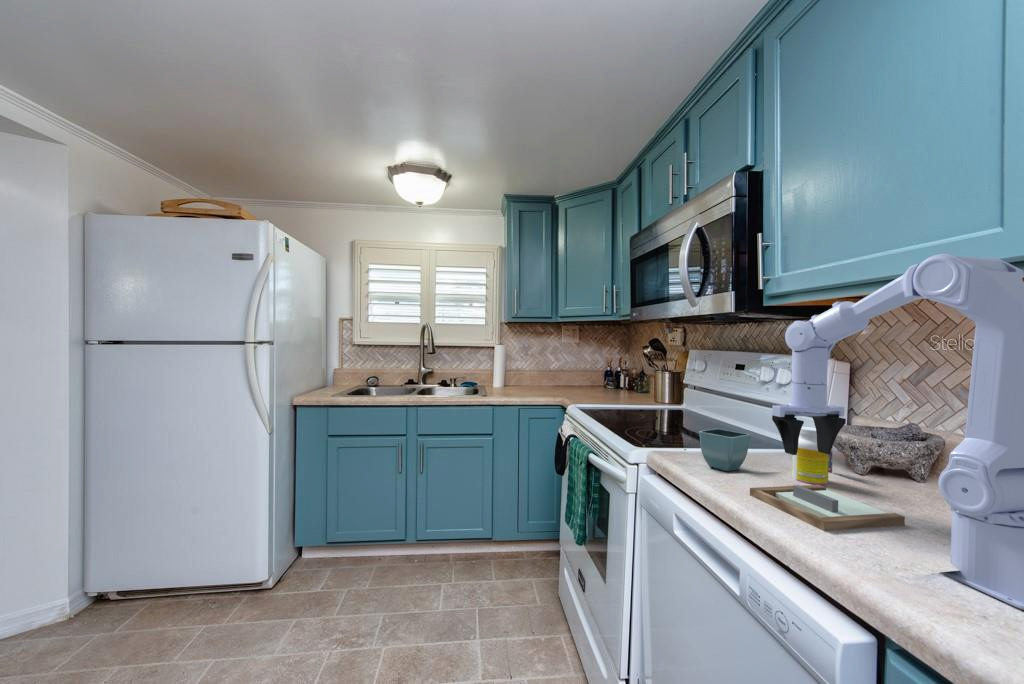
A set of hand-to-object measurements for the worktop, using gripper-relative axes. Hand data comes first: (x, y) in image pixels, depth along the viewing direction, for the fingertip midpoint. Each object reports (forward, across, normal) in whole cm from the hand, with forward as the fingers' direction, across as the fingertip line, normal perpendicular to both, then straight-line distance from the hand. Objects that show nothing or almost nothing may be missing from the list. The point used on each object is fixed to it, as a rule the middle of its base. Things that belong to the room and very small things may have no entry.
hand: (807, 453), depth 83 cm
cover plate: (+9, 0, +6) cm, 10 cm away
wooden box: (+10, +2, +6) cm, 12 cm away
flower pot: (+10, 0, -24) cm, 27 cm away
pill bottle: (+10, -22, -19) cm, 31 cm away
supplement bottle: (+10, -10, -10) cm, 18 cm away
